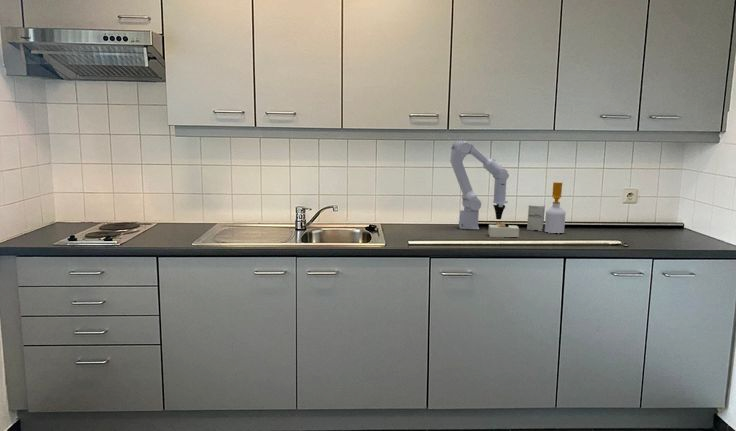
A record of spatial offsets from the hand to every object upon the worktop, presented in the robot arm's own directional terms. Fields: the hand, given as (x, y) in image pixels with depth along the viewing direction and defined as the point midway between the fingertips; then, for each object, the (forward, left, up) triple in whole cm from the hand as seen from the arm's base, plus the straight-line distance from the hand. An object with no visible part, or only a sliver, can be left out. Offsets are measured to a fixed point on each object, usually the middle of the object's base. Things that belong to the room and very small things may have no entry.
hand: (498, 219), depth 278 cm
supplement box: (+18, -2, -5) cm, 19 cm away
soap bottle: (+26, -8, -5) cm, 27 cm away
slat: (0, -12, -5) cm, 13 cm away
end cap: (0, -22, -4) cm, 22 cm away
